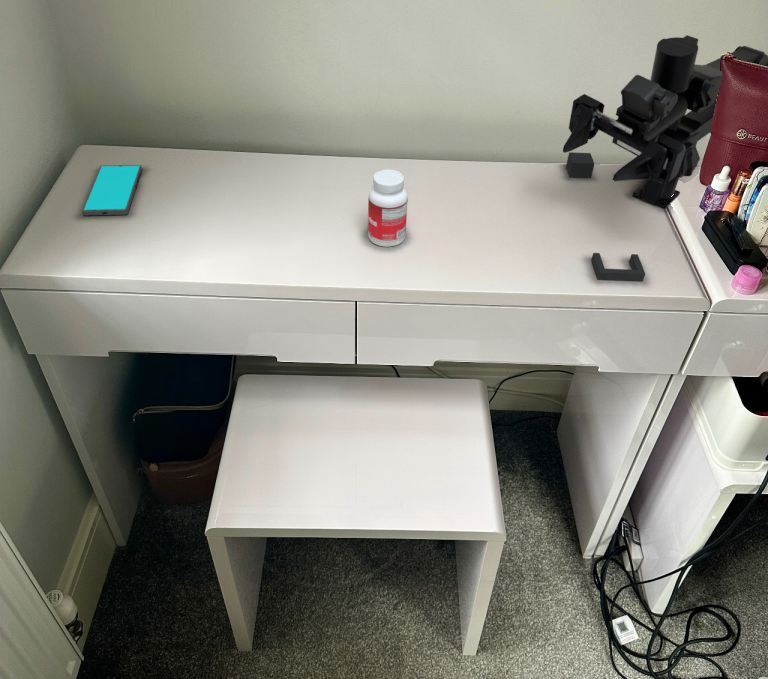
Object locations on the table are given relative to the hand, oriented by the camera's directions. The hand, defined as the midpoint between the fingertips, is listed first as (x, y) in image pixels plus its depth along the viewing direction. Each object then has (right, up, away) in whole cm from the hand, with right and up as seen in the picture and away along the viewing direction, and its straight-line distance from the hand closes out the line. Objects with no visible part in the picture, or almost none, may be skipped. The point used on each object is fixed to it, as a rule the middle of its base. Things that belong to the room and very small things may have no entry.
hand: (588, 163), depth 104 cm
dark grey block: (+6, +5, +28) cm, 29 cm away
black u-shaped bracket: (+6, -15, +6) cm, 17 cm away
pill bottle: (-30, -9, +11) cm, 33 cm away
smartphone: (-77, 0, +19) cm, 79 cm away
